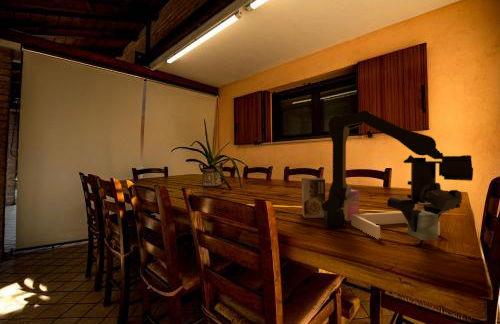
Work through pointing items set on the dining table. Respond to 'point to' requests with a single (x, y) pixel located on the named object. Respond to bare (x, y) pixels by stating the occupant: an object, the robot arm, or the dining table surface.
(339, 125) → the robot arm
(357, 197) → the box
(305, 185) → the coffee box
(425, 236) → the block
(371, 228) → the wooden frame
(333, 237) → the dining table surface
